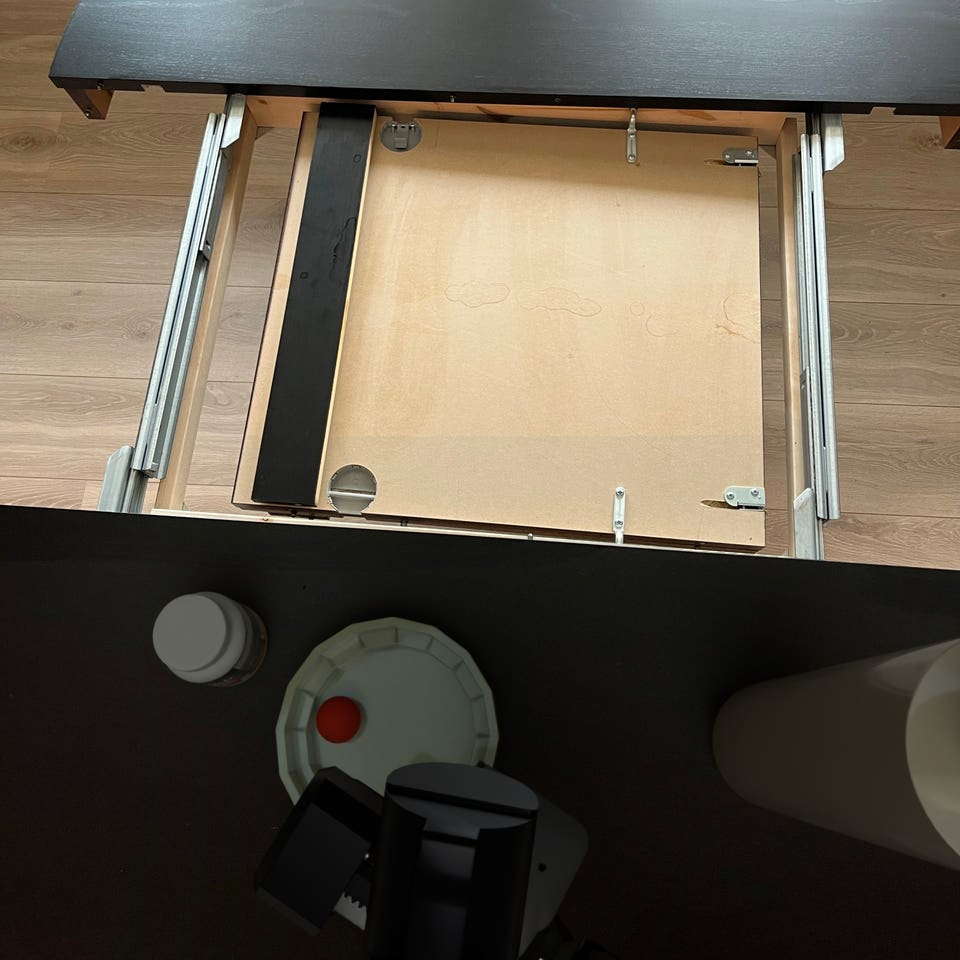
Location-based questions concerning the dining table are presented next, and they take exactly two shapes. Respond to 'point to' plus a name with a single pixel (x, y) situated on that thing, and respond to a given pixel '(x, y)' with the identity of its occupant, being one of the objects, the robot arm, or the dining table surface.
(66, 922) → the dining table surface
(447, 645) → the bowl
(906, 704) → the vase
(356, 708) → the ball
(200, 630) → the pill bottle
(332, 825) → the robot arm
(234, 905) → the dining table surface
